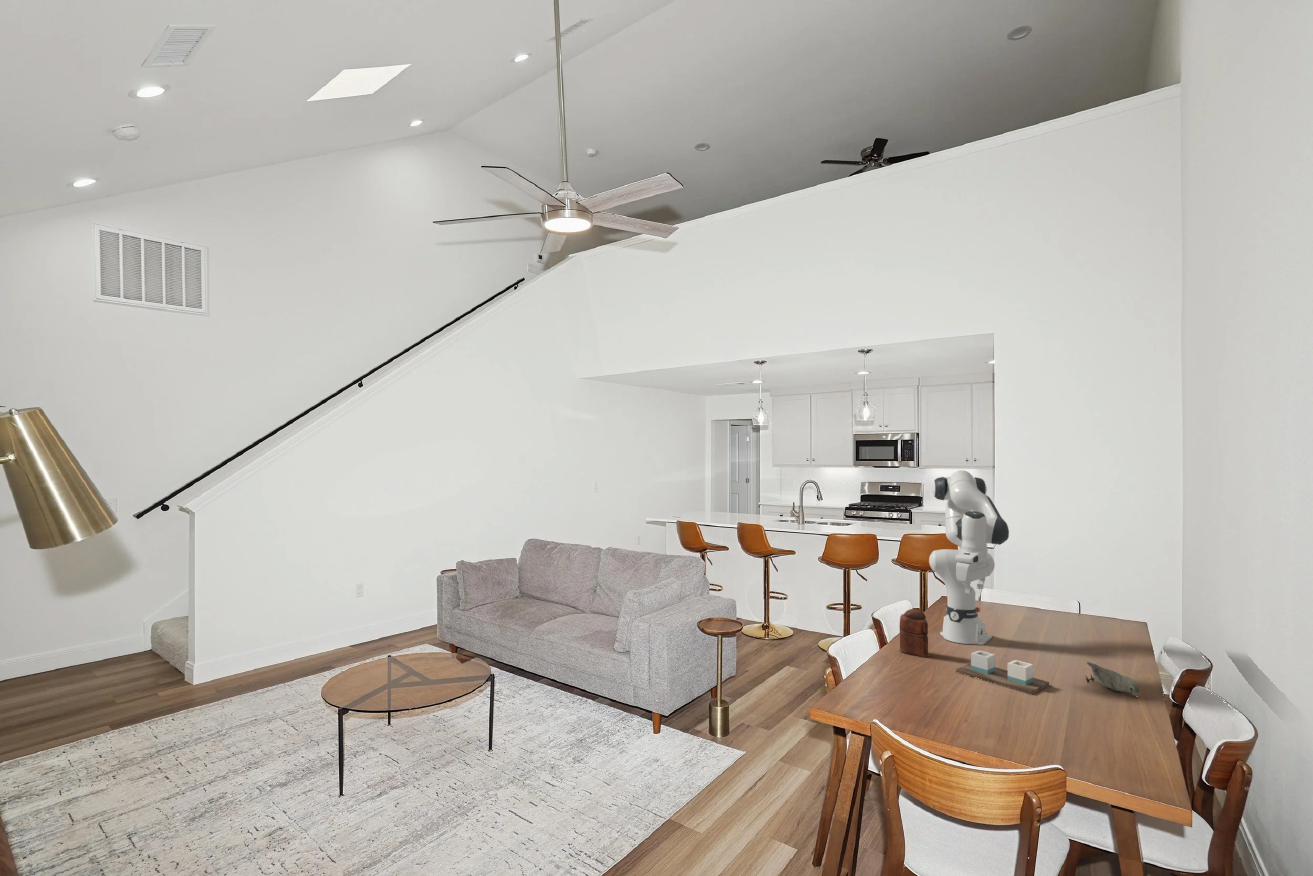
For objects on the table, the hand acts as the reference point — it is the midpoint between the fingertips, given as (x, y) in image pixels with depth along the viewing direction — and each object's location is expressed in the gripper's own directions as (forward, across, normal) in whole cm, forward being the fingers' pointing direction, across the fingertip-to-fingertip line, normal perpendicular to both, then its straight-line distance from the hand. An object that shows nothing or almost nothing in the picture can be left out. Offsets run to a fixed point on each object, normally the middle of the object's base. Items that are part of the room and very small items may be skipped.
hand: (974, 590), depth 237 cm
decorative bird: (+29, -16, +40) cm, 52 cm away
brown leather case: (+30, +4, -22) cm, 37 cm away
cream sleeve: (+28, +4, +18) cm, 33 cm away
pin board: (+29, +4, +12) cm, 32 cm away
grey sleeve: (+28, +4, +5) cm, 29 cm away
